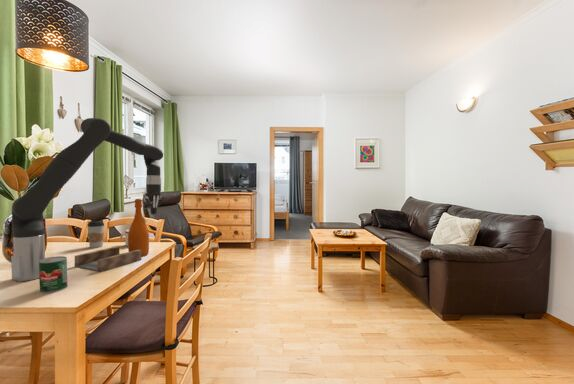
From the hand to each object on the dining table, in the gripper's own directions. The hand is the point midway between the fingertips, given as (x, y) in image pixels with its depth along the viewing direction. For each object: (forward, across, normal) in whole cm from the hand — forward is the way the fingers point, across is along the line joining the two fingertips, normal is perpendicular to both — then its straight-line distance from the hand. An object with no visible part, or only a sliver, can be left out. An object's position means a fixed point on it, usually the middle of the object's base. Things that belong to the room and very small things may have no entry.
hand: (153, 214), depth 155 cm
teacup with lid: (+21, +4, +24) cm, 32 cm away
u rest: (+21, -26, 0) cm, 33 cm away
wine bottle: (+21, -10, 0) cm, 23 cm away
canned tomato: (+21, -55, -12) cm, 60 cm away
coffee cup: (+21, -8, +38) cm, 44 cm away
